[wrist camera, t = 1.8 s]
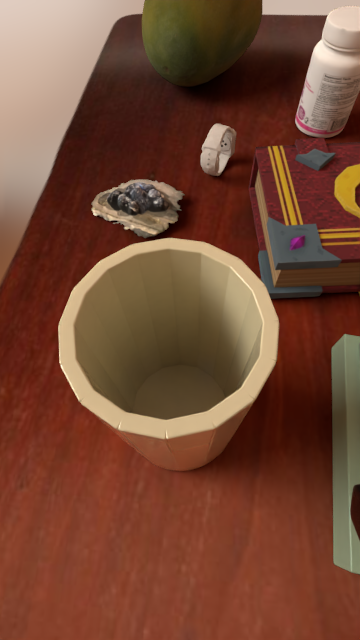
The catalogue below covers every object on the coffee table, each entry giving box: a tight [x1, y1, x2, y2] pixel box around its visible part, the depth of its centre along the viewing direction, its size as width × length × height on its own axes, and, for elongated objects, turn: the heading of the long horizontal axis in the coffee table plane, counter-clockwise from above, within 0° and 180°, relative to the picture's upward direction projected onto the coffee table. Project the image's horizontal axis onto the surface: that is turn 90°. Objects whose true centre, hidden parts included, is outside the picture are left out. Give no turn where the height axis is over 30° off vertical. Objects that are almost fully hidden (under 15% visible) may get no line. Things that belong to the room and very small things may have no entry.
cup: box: [58, 238, 279, 471], centre depth 16 cm, size 7×7×12 cm
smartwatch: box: [201, 123, 236, 176], centre depth 29 cm, size 4×2×4 cm, turn 153°
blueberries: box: [91, 179, 185, 238], centre depth 28 cm, size 7×8×2 cm
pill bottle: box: [295, 6, 360, 138], centre depth 30 cm, size 5×5×8 cm
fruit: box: [142, 0, 262, 87], centre depth 34 cm, size 12×13×10 cm
